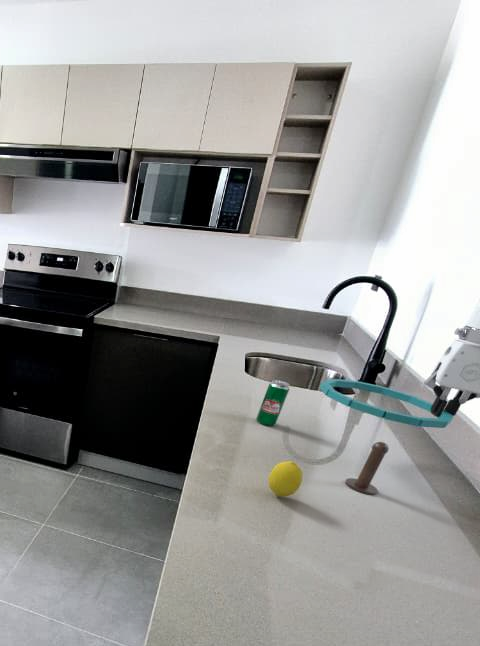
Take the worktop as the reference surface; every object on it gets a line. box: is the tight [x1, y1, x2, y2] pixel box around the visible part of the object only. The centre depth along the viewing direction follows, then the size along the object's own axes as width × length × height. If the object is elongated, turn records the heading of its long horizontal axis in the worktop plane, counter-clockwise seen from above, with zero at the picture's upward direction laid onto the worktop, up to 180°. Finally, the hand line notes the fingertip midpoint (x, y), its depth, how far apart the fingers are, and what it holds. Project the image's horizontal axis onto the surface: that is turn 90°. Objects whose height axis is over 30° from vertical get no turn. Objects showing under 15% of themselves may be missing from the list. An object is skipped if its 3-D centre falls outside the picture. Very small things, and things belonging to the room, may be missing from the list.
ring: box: [319, 378, 454, 429], centre depth 119 cm, size 26×26×2 cm
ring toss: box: [344, 441, 390, 496], centre depth 107 cm, size 6×6×11 cm
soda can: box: [255, 379, 290, 427], centre depth 137 cm, size 5×5×12 cm
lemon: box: [268, 460, 303, 498], centre depth 99 cm, size 6×6×8 cm
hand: (440, 415), depth 116 cm, fingers closed on ring
